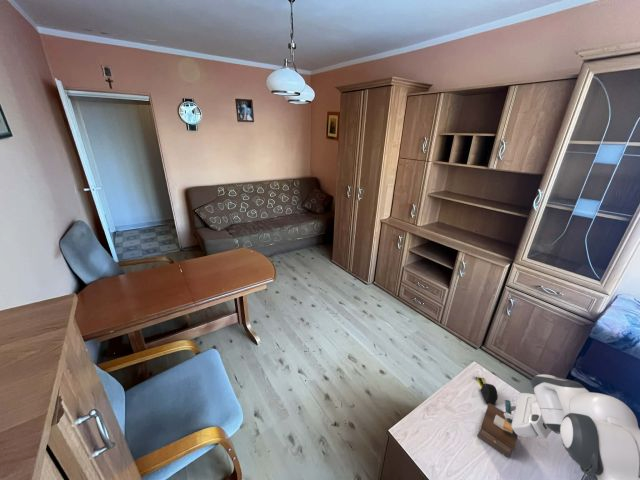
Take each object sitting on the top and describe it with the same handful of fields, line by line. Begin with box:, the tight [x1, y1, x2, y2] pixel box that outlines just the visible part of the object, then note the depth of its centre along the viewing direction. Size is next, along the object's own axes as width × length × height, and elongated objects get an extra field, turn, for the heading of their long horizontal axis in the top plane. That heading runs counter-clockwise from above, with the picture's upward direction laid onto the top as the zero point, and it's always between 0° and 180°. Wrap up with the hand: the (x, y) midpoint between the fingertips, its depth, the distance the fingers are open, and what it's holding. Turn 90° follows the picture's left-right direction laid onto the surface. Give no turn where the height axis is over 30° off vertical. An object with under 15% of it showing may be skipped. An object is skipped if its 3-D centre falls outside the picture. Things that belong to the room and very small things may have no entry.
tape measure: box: [475, 376, 499, 406], centre depth 137 cm, size 15×4×8 cm, turn 171°
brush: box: [503, 399, 513, 436], centre depth 113 cm, size 8×3×13 cm, turn 138°
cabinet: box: [476, 403, 519, 458], centre depth 118 cm, size 15×13×8 cm
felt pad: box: [494, 415, 505, 429], centre depth 117 cm, size 4×4×2 cm
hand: (505, 411), depth 114 cm, fingers closed on brush, 2 cm apart
